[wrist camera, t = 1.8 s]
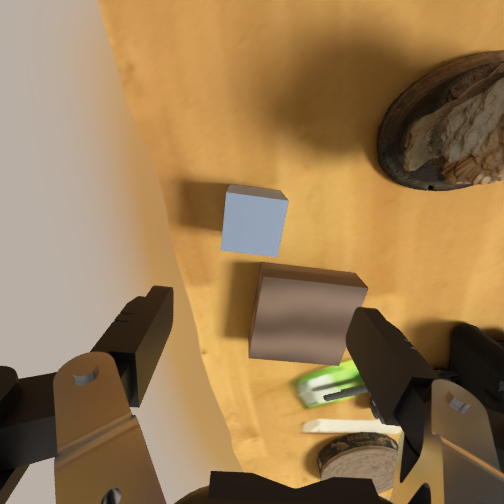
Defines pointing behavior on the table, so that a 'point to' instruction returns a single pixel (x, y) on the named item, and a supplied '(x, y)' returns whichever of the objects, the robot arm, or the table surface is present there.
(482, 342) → the film camera
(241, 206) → the blue cube
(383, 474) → the wood log slice
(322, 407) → the table surface
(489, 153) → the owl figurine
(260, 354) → the brown block
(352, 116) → the table surface
